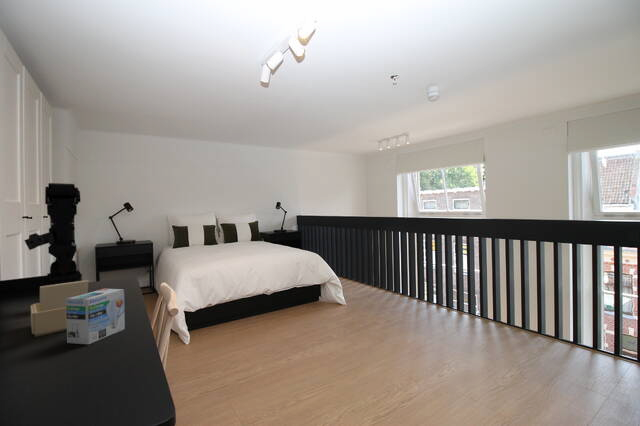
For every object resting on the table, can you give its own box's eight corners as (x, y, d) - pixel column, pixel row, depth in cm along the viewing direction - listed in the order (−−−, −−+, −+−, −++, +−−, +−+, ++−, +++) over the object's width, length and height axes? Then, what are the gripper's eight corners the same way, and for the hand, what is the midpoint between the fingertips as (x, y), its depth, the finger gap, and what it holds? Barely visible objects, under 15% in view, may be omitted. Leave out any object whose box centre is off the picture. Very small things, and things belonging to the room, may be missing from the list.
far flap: (39, 286, 75) (40, 287, 75) (88, 279, 82) (88, 280, 82) (39, 310, 78) (39, 311, 78) (86, 302, 85) (86, 303, 85)
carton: (30, 325, 87) (30, 304, 87) (85, 314, 95) (85, 295, 96) (32, 337, 77) (31, 313, 77) (93, 324, 86) (92, 302, 86)
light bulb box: (88, 345, 71) (87, 299, 71) (65, 343, 73) (64, 298, 73) (126, 328, 82) (125, 288, 82) (105, 327, 83) (104, 287, 83)
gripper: (29, 224, 97) (30, 274, 96) (23, 224, 82) (24, 282, 82) (74, 223, 104) (75, 269, 104) (76, 223, 89) (77, 276, 89)
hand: (63, 274), depth 94 cm, fingers closed
